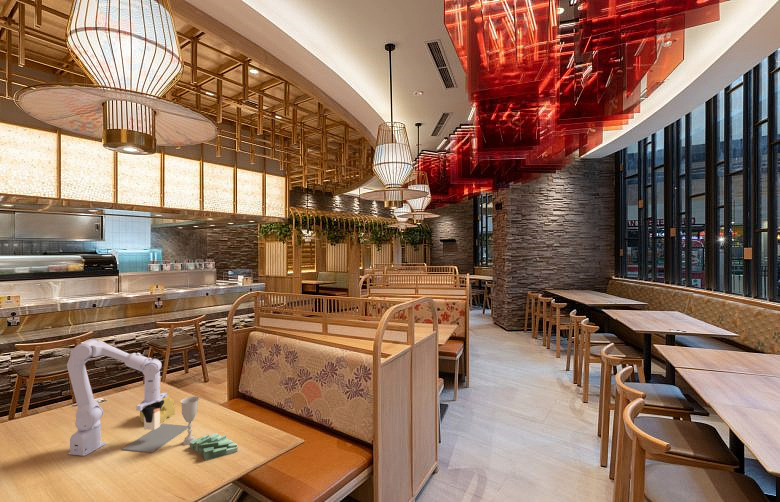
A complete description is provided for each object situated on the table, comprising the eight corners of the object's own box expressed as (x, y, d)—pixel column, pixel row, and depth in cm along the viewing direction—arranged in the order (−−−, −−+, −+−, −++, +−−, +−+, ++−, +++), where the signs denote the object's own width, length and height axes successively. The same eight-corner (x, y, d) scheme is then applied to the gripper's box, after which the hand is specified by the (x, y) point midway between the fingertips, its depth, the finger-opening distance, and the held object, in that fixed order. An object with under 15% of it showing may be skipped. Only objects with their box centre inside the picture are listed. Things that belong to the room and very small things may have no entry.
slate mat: (152, 452, 148) (152, 451, 148) (121, 449, 150) (121, 448, 150) (189, 426, 170) (189, 426, 170) (162, 424, 172) (162, 423, 172)
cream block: (154, 429, 156) (154, 411, 156) (144, 429, 157) (144, 410, 157) (159, 426, 159) (159, 408, 159) (149, 425, 160) (149, 407, 160)
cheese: (175, 414, 183) (175, 394, 182) (159, 424, 172) (159, 403, 172) (155, 413, 184) (155, 393, 184) (138, 423, 173) (138, 402, 173)
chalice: (190, 447, 152) (190, 404, 152) (176, 445, 154) (176, 402, 153) (202, 438, 159) (202, 397, 159) (188, 436, 161) (189, 395, 161)
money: (180, 455, 147) (180, 442, 147) (213, 436, 162) (213, 425, 162) (218, 465, 140) (218, 453, 140) (249, 445, 155) (249, 433, 155)
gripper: (147, 395, 150) (147, 429, 150) (173, 383, 164) (172, 413, 165) (131, 394, 151) (131, 427, 151) (158, 382, 165) (158, 412, 166)
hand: (152, 420), depth 158 cm, fingers closed on cream block, 3 cm apart
